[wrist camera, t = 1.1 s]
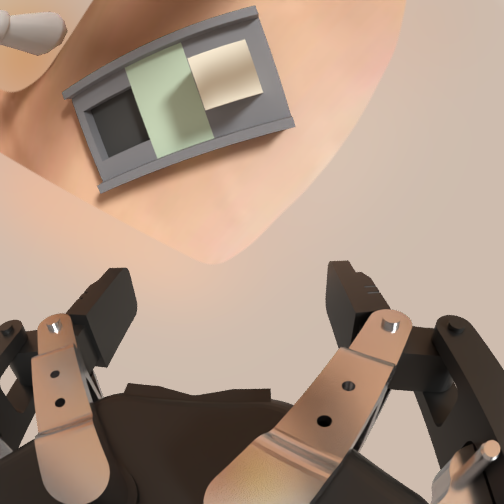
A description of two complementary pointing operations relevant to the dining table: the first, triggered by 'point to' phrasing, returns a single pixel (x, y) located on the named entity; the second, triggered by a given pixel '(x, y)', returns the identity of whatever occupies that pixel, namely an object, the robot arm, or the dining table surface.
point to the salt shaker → (32, 31)
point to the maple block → (225, 74)
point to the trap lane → (174, 101)
